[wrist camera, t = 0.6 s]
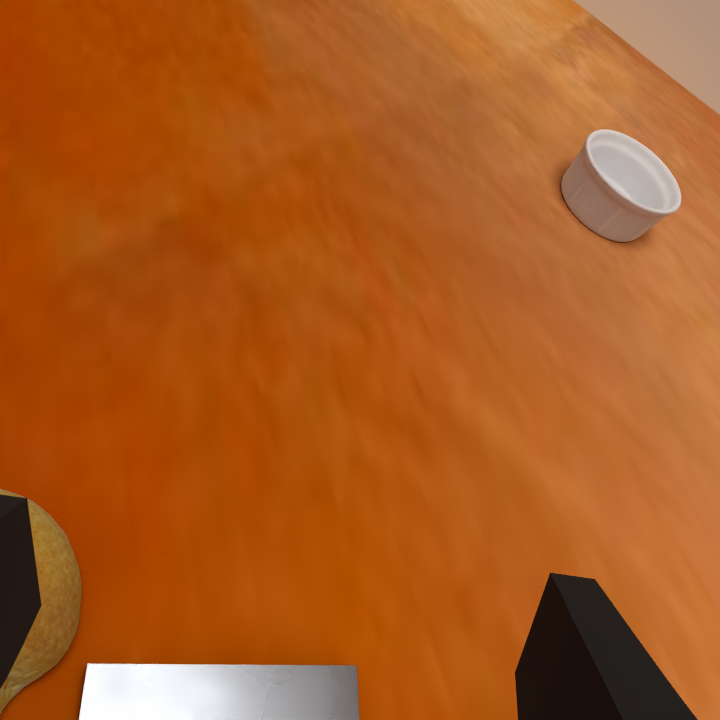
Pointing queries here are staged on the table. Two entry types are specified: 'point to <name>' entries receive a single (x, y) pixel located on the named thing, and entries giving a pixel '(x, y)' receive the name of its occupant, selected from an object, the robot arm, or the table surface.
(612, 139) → the ramekin
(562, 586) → the robot arm
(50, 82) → the table surface
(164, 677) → the square steel plate
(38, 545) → the bread roll
